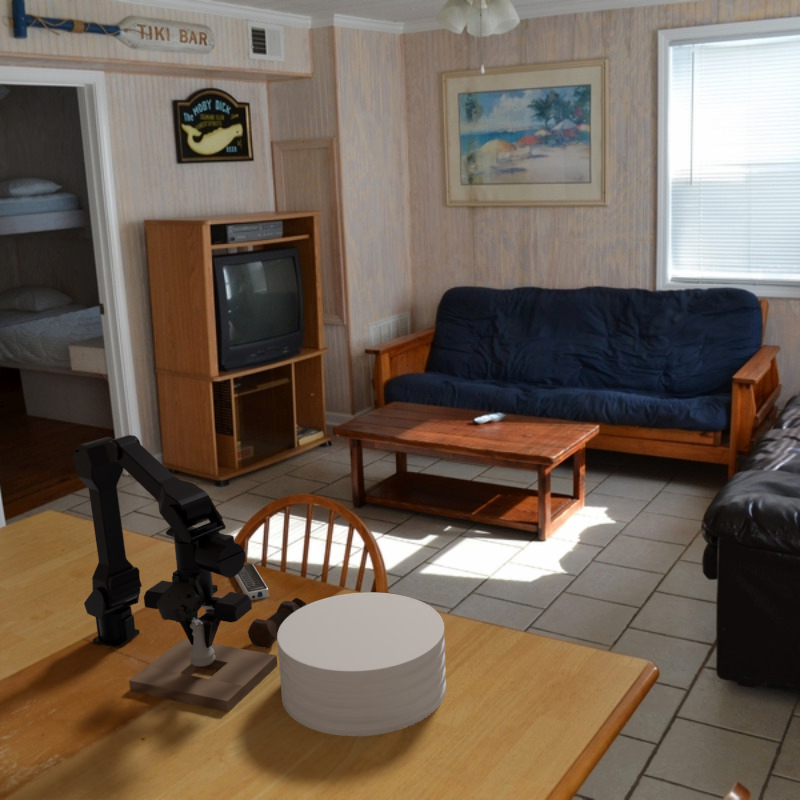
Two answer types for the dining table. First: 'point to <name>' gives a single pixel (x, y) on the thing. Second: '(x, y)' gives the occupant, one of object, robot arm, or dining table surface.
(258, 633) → the bolt
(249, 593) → the multiport hub
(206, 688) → the socket board
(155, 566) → the dining table surface
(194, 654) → the rook chess piece
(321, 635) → the plate stack
